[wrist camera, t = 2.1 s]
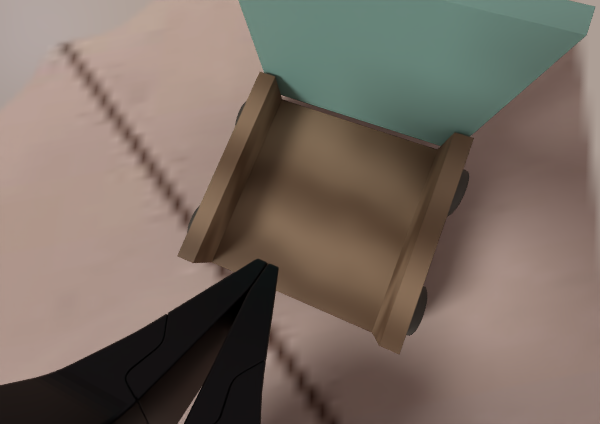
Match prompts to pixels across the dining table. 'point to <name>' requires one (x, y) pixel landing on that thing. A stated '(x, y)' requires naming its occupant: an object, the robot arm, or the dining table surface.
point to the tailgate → (412, 56)
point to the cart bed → (330, 211)
